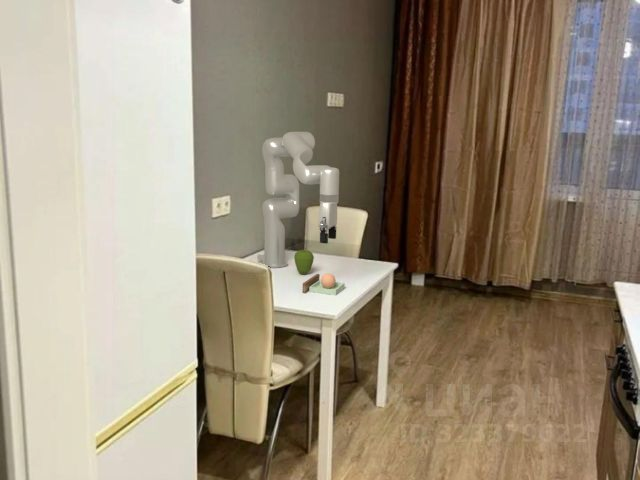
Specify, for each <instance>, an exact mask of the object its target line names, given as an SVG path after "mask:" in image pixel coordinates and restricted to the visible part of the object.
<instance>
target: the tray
mask: <svg viewBox="0 0 640 480" xmlns="http://www.w3.org/2000/svg"><path fill="white" fill-rule="evenodd" d="M345 287H346V286H345V283H344V282H338V281H335V285H334V286H333V287H331V288H325V287H323V285H322V284H321V279H319V281H317V282H316V283H314V284H313V285H312V286H310V287H309V291H308V292H309V293H314V294H322V295H329V296H331V295H332V296H337V295H338V294H339V293H341V291H343V290H344V289H345Z"/></svg>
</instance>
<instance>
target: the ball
mask: <svg viewBox="0 0 640 480" xmlns="http://www.w3.org/2000/svg"><path fill="white" fill-rule="evenodd" d="M320 280H321V284H322V285H323V287H325V288H331V287H333V286H334V285H335V282H337V281H336V277H335V276H334V275H333V274H332V273H325V274H323V275H322V276H321V278H320Z"/></svg>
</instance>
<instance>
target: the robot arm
mask: <svg viewBox="0 0 640 480" xmlns="http://www.w3.org/2000/svg"><path fill="white" fill-rule="evenodd" d="M315 145H316V139H315V137H314V135H313V134H312V133H311V132H309V131H290V132H288V131H287V132H286V133H285V134H284V135H282V137H270V138H267V139H265V141H264V142H263V143H262V149H261V154H262V157H263V160H264V167H265V168H264V169H265V170H264V171H265V173H264V176H265V178H264V180H265V181H264V183H265V186H264V187H265V192H266V194H267V195H269V196H285V197H276V198H275V197H274V198H269V199H266V200H264V201H263V203H262V204H261V205H262V206H261V210H262V215H263V223H264V224H263V225H264V228H263V229H264V232H263V233H264V239H263V240H264V247H263V248H264V251H263V252H264V253H263V255H262V254H257V257H256V258H257V260H261V262H260V264H261V263H262V264H265V265H267V266H270V267H271V268H272V269H273V268H274V269H276V268H277V269H278V268H284V267H287V266H288V265H289V263H288V261H287V260H285V259H286V257H285V253H286V251H285V249H286V247H285V246H286V245H285V241H286V238H285V234H286V229H285V226H284V223H282V221H281V219H282V220H283V219H289V218H295V217H297V216H298V214H299V211H300V183H299V182H301V183H302V184H304V185H319V209H318V223H317V224H318V227H319V243H320V244H326V245H327V244H328V243H329V239H332V240H336V239H337V228H338V227H337V224H338V203H339V196H340V195H339V194H340V193H339V191H340V170H339V168H338V167H337V168H336V167H333V166H332V167H331V166H330V165H326V164H325V165H321V164H320V165H307V164H308V163H309V162H310V161H311V160H312V159H313V155H314V152H313V149H314V148H315ZM281 157H285V158H287V157H291V158H292V159H293V160H292V170H293V174H291V173H290V174H289V173H287V174H286V173H285V170H284V169H285V168H284V167H285V166H284V162H283V161H282V159H281ZM270 267H269V268H270Z"/></svg>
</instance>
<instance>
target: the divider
mask: <svg viewBox="0 0 640 480" xmlns="http://www.w3.org/2000/svg"><path fill="white" fill-rule="evenodd" d="M320 275H321V274H319V273H316V274H315V275H313V276H312V277H310V278H308V279H307V280H306V281H304V282H302V294H306V293H308V292H309V287H310V286H312V285H313V284H314V283H316V282H317V281H319V280H320Z"/></svg>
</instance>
